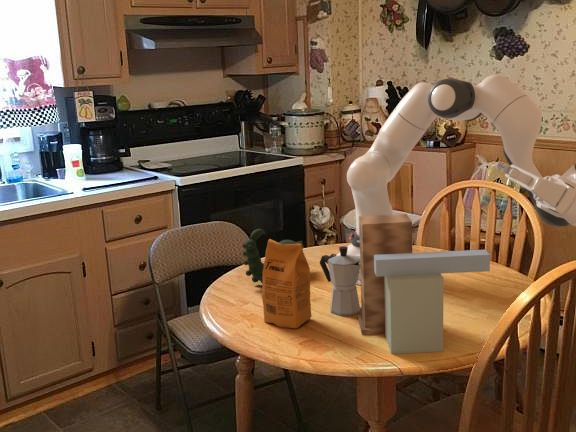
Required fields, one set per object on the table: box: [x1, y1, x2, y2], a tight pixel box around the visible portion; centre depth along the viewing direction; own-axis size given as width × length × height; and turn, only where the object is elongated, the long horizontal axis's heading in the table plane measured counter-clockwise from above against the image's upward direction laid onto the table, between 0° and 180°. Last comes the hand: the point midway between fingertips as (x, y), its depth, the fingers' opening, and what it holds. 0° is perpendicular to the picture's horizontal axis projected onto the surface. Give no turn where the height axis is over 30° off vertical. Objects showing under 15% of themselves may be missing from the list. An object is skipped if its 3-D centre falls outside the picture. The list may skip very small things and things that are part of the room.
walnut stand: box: [356, 213, 413, 335], centre depth 165 cm, size 14×11×28 cm
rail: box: [374, 249, 491, 277], centre depth 152 cm, size 26×4×4 cm, turn 89°
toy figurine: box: [241, 228, 304, 284], centre depth 205 cm, size 10×19×26 cm
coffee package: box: [261, 238, 312, 329], centre depth 172 cm, size 10×12×22 cm
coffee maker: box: [319, 245, 362, 317], centre depth 178 cm, size 15×9×18 cm, turn 44°
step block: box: [384, 274, 444, 355], centre depth 155 cm, size 12×10×18 cm
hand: (503, 167), depth 153 cm, fingers open, 8 cm apart
